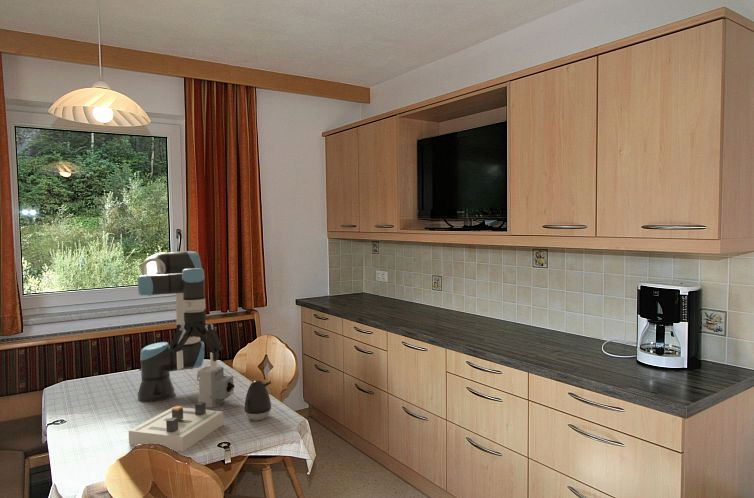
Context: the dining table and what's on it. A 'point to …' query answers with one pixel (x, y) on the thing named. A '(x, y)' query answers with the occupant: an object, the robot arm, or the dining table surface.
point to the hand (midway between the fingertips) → (196, 369)
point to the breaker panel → (181, 426)
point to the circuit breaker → (214, 386)
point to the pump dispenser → (257, 401)
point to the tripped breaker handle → (177, 412)
